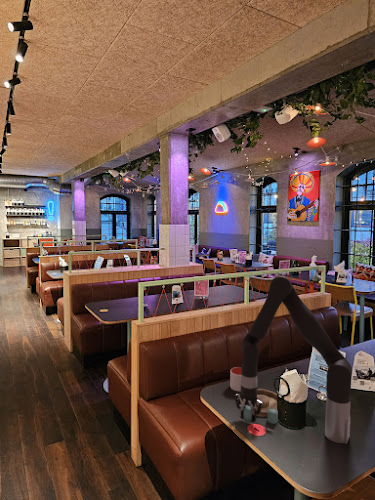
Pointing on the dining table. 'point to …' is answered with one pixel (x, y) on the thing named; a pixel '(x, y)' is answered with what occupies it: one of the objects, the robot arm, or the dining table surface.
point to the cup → (235, 378)
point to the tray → (272, 403)
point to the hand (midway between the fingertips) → (248, 419)
